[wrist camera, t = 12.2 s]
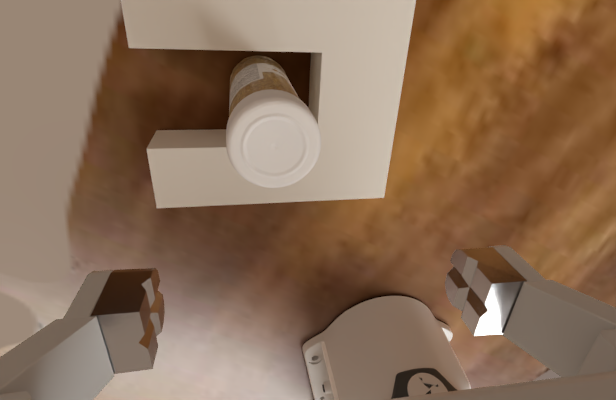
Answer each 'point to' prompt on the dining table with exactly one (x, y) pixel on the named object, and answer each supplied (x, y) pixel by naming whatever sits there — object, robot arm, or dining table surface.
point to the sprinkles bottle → (269, 126)
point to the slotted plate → (322, 92)
